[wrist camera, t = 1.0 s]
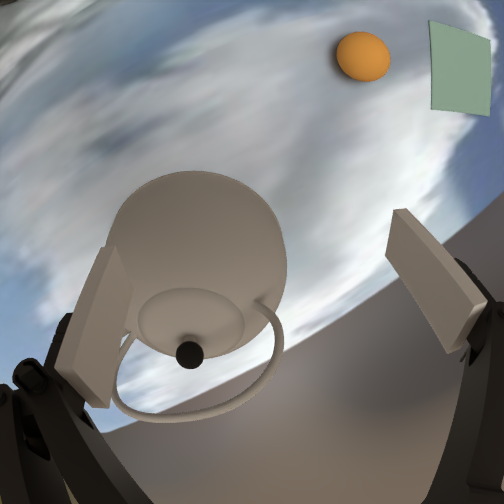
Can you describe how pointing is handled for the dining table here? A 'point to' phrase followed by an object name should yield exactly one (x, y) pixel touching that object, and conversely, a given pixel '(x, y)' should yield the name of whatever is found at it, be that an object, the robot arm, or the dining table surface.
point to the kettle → (199, 275)
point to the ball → (363, 56)
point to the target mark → (459, 70)
